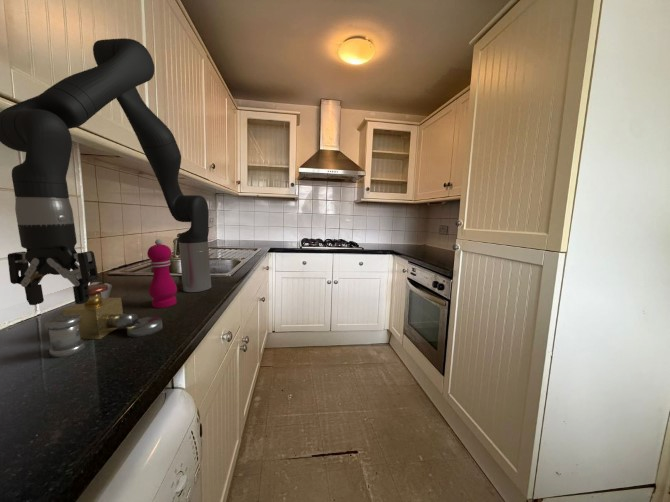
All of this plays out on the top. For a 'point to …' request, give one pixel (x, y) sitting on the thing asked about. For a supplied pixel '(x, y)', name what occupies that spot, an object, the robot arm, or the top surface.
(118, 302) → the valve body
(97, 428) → the top surface
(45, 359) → the top surface
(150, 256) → the pepper mill
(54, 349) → the door knob
